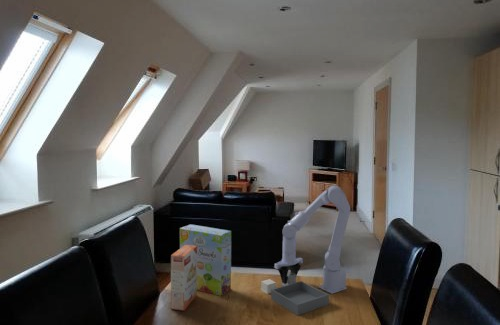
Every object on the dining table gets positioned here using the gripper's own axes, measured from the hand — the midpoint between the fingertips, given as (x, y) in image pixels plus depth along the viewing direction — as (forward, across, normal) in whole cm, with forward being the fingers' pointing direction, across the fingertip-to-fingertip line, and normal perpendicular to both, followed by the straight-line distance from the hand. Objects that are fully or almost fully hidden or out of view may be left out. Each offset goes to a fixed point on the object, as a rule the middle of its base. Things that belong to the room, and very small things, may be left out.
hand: (288, 281), depth 163 cm
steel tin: (+1, 0, 0) cm, 1 cm away
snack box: (+2, +32, -17) cm, 36 cm away
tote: (+2, +7, +15) cm, 17 cm away
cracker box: (+2, +45, -9) cm, 46 cm away
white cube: (+2, +11, 0) cm, 11 cm away
